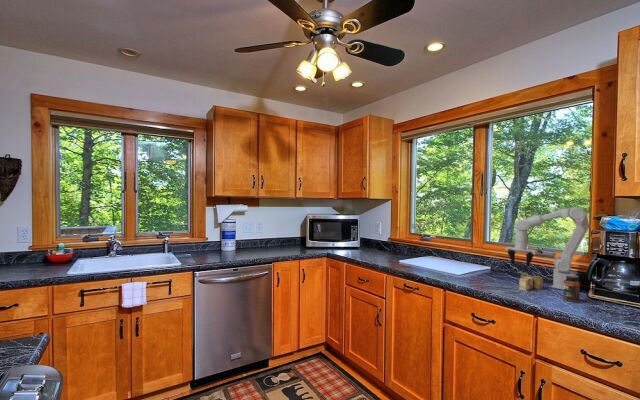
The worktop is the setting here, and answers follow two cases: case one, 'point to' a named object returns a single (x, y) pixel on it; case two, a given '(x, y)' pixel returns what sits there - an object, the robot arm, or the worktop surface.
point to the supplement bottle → (571, 289)
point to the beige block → (526, 283)
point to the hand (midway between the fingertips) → (520, 264)
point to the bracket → (535, 281)
